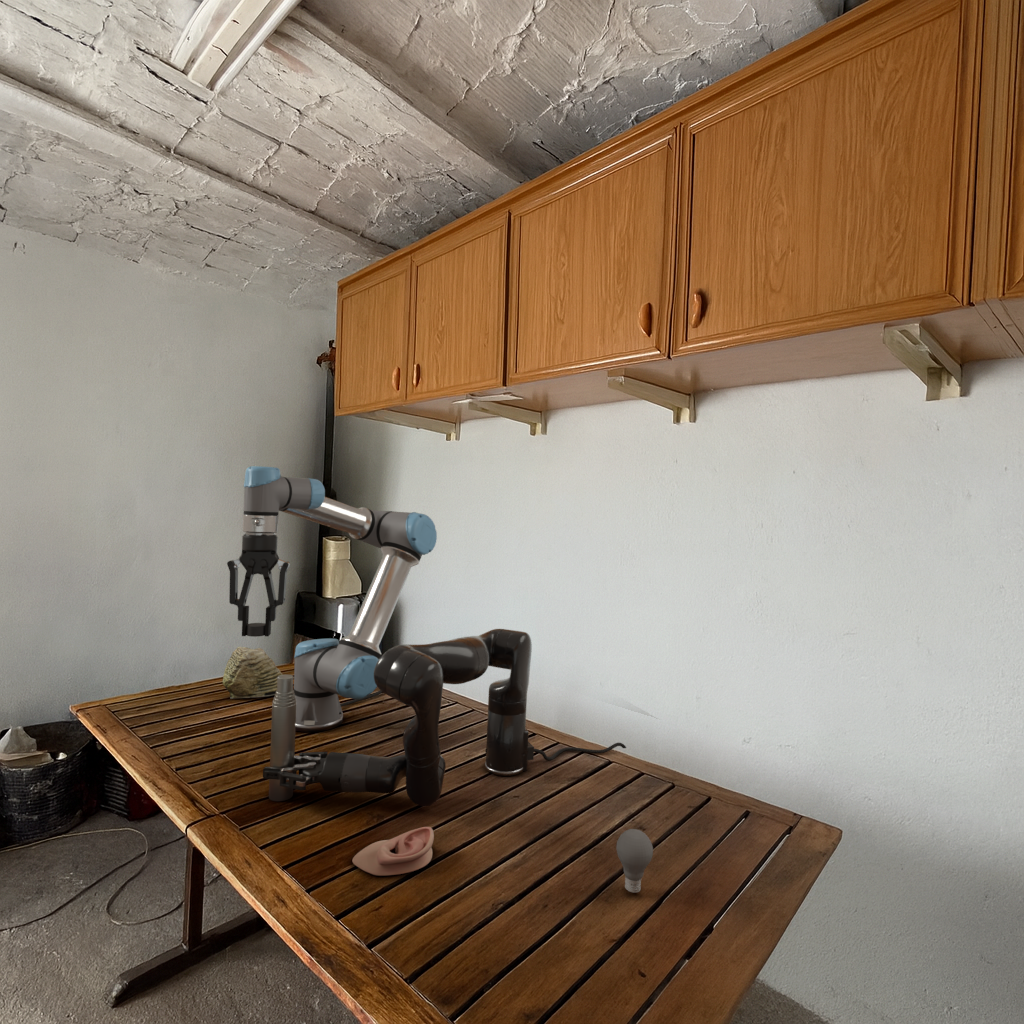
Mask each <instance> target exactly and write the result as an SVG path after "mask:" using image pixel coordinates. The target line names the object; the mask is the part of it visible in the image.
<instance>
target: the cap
mask: <svg viewBox="0 0 1024 1024" xmlns="http://www.w3.org/2000/svg"><path fill="white" fill-rule="evenodd" d="M246 626H247V627H246V636H247V637H255V638H256V637H265V622H250V623H248V624H247V625H246Z"/></svg>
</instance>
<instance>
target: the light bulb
mask: <svg viewBox="0 0 1024 1024" xmlns="http://www.w3.org/2000/svg"><path fill="white" fill-rule="evenodd" d="M615 849H616V854H617V857H618V859H619V861H620V863H621V865H622V867H623V873H624V874H623V875H624V876H625V878H624V888H625V890H627V891H628V892H630V893H634V894H635V893H639V892H640V891H641V889H642V887H641V886H642V879H643V877H644V875H645V871H646V868H647V867H648V866H649V864H650V863H651V861H652V859H653V855H654V847H653V843H652V841H651V838H649V836H648V835H647V834H646V833H645V832H643V831H642V830H641V829H636V828H629V829H627V830H625V831H623V832H622V833H621V834H620V835H619V837H618V839H617V841H616V847H615Z"/></svg>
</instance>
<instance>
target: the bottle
mask: <svg viewBox="0 0 1024 1024" xmlns="http://www.w3.org/2000/svg"><path fill="white" fill-rule="evenodd" d="M270 727H271V728H270V751H269V752H270V755H269V759H270V760H269V767H278V768H291V767H293V766H294V756H295V752H296V731H295V727H296V699H295V693H294V674H287V673H286V674H282V675H280V676H278V677H277V691H276V694H275V695H274V697H273V700H272V704H271V725H270ZM288 773H292V772H288ZM268 781H269V782H268V785H269V786H268V799H269V800H270V801H272V802H284V801H288V800H290V799H291V798H293V796H294V789H292V788H287V787H283V786H280V785H279V784H280V780H277V779H268Z"/></svg>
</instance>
